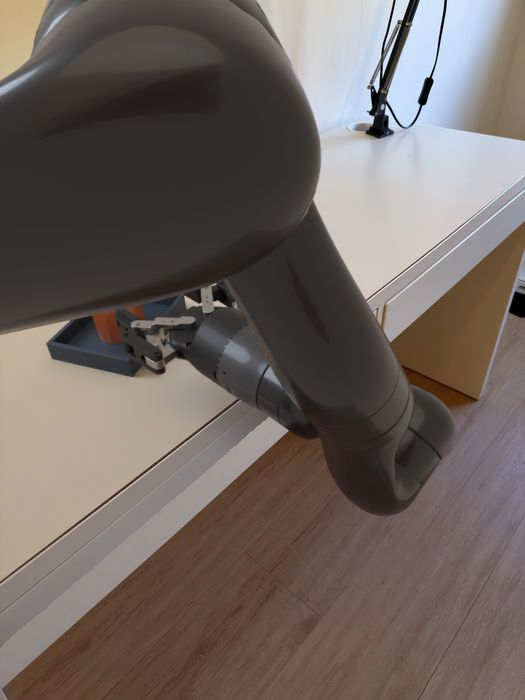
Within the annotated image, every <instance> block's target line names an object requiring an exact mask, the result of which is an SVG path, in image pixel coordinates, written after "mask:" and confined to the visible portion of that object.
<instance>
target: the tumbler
mask: <svg viewBox="0 0 525 700" xmlns="http://www.w3.org/2000/svg"><path fill="white" fill-rule="evenodd" d="M125 309H126V310H128V311H129V312H131V313H132V314H134V315H135V316H137V317H138V318H139V319H140V320H145V321H146V318H145V314H144V309H143V305H137V306H133V307H128V308H125ZM115 314H116V311H110V312H106V313H101V314H96V315H92V317H93V321H94V324H95V327H96V330H97V333H98V336H99V338H100V339H101V340H102V341H104V342H106V343H109V344H122V341H121V339H120V333H121V332H122V330H120V329H119V328H118V326H117V322H116V319H115Z"/></svg>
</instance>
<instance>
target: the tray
mask: <svg viewBox="0 0 525 700" xmlns="http://www.w3.org/2000/svg"><path fill="white" fill-rule="evenodd" d="M142 305H143V309H144V314H145V318H146V321H154V319H155V318H157V317H165V318H172V317H174V316H176V315H178V314H181V313H184V312H185V311H186V310H187V304H186V296H184V295H183V294H181V295H177V296H174V297H170V298H166V299H162V300H159V301H155V302H151V303H146V304H142ZM163 330H164V335H165V337H166V336H167V335H168V334H169V329H166V328H163ZM145 334H146V335H152V336H153V333H152V332H151V331H145ZM45 344H46V348H47V349H48V353H49V354H50V357H51V359H53V360H56V361H61V362H65V363H70V364H74V365H78V366H83V367H86V368H87V367H88V368H91V369H96V370H99V371H100V370H101V371H105V372H109V373H114V374H117V375H122V376H127V377H134V376H135V375H136V373H137V372H138V371H139V370H140V369H141V367H143V366H142V365H140V364H139V363H137V362H136V361H134V360H133V359H131V358H129V357H128V356H126V355H125V353H124V348H123V344H109V343H106V342H104V341H102V340H101V339H100V338H99V336H98V333H97V330H96V327H95V324H94V321H93V317H92V316H87V317H83V318H78V319H73V320H69V321H67V323H66V324H64V325H63V326H62V327H61V329H59V330H58V331H57V332H56V333H55V334H54V335H53V336H52V337H51V338H50V339H48V341H47V342H46V343H45Z"/></svg>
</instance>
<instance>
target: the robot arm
mask: <svg viewBox="0 0 525 700" xmlns="http://www.w3.org/2000/svg"><path fill="white" fill-rule="evenodd" d="M34 36H35V37H34V39H33V45H32V46H33V47H32V50H31V52H30V56H29V58H28V59H27V60H26V61H25V62H24V63H23V64H22V65H21V66H20V67H18V68H17V69H15V70H13V72H11V73H10V74H8V75H6V76H5V77H3V78H2V79H0V336H3V335H9V334H13V333H18V332H22V331H26V330H30V329H31V330H32V329H36V328H41V327H44V326H49V325H54V324H58V323H59V324H60V323H63V322H69V321H70V320H73V319H78V318H83V317H87V316H92V315H96V314H101V313H106V312H110V311H116V314H115V319H116V322H117V326H118V328H119V329H120V330H122V332H121V333H120V339H121V341H122V344H123V348H124V353H125V355H126V356H128V357H129V358H131V359H133V360H134V361H136V362H137V363H139V364H140V365H142V366H141V367H143V368H145V369H146V370H148V371H150V372H151V373H153V374H154V375H156V376H161V375H164V374H165V373H166V372H167V367H166V366H167V364H169V363H170V362H172V361H174V360H175V359H178V360H183V361H187V362H189V364H191V366H192V367H193V368H194V369H195V370H196V371H197V372H199V373H200V374H201V375H202V376H203V377H205V378H207V379H209V381H212V382H213V383H214V384H216V385H217V386H218V387H220V388H222V389H223V390H224V391H225V392H227V393H229V394H230V395H232V396H233V397H235V398H236V399H237V400H239V401H240V402H242V403H244V404H245V405H246V406H249V407H251V408H254V409H256V410H258V411H260V412H261V413H263V414H265V415H266V416H267V417H269V418H270V419H272V420H273V421H275V422H276V423H278V424H279V425H280V426H282V427H283V428H285V429H286V430H287V431H289V432H290V433H292V434H293V435H295V436H297V437H299V438H301V439H303V440H308V441H310V440H311V441H312V440H316V439H320V442H321V447H322V452H323V456H324V459H325V463H326V466H327V468H328V471H329V473H330V476H331V478H332V479H333V481H334V483H335V484H336V486H337V488H338V489H339V490H340V492H341V493H342V495H344V496H345V497H346V498H347V499H348V500H349V501H350V502H351V503H352V504H353V505H354V506H355V507H357V508H359V509H360V510H361V511H364V512H366V513H368V514H370V515H374V516H378V517H391V516H396V515H398V514H401V513H403V512H404V511H406V510H407V509H408V508H409V507H410V506H411V505H412V504H413V503H414V501H415V500H416V499H417V497H418V495H419V494H420V493H421V491H422V490H423V488H424V486H425V485H426V483H427V482H428V480H429V479H430V478H431V476H432V475H433V473H434V472H435V470H436V469H437V467H438V465H439V464H440V462H441V461H442V460H443V458H444V457H445V456H446V454H447V452H448V451H449V449H450V447H451V446H452V444H453V442H454V441H455V438H456V437H457V424H456V421H455V417H454V415H453V413H452V412H451V411H450V408H449V407H448V406H447V405H446V404H445V402H444V401H442V400H441V399H440V398H439V397H438V396H436V395H435V394H434V393H432V392H430V391H428V390H426V389H425V388H423V387H420V386H418V385H417V386H416V385H414V384H411V382H410V380H409V378H408V376H407V374H406V372H405V370H404V368H403V365H402V364H401V361H400V360H399V357H398V355H397V353H396V351H395V349H394V348H393V346H392V343H391V341H390V340H389V338H388V336H387V334H386V332H385V331H384V328H383V327H382V325H381V324H380V322H379V320H378V319H377V317H376V315H375V313H374V312H373V309H372V307H371V306H370V304H369V303H368V301H367V299H366V298H365V296H364V294H363V292H362V291H361V289H360V287H359V285H358V284H357V282H356V280H355V278H354V277H353V275H352V272H351V271H350V269H349V268H348V266H347V264H346V263H345V260H344V259H343V257H342V255H341V253H340V252H339V249H338V248H337V246H336V244H335V242H334V239H333V238H332V236H331V234H330V233H329V230H328V228H327V226H326V224H325V222H324V219H323V218H322V216H321V214H320V211H319V209H318V207H317V204H316V202H315V199H314V198H315V196H316V193H317V189H318V186H319V182H320V181H319V180H320V176H321V172H322V171H321V170H322V144H321V137H320V133H319V129H318V124H317V120H316V118H315V114H314V110H313V108H312V106H311V103H310V100H309V99H308V96H307V93H306V91H305V88H304V87H303V85H302V81H301V80H300V77H299V75H298V74H297V72H296V70H295V69H294V67H293V64H292V62H291V60H290V58H289V56H288V54H287V53H286V52H287V51H286V50H285V49H284V47H283V45H282V43H281V41H280V38H279V37H278V34H277V32H276V31H275V30H274V28H273V26H272V24H271V22H270V21H269V19H268V17H267V15H266V13H265V11H264V10H263V8H262V6H261V5H260V3H259V2H258V0H47V2H46V5H45V7H44V9H43V12H42V16H41V18H40V20H39V24H38V27H37V29H36V31H35V35H34ZM181 294H182V295H184V297H185V298H188V299H190V300H191V301H193V302H195V303H197V304H198V305H192V306H190V307H189V308H186V311H185V312H184V313H181V314H178V315H176V316H174V317H172V318H165V317H157V318H155V319H154V321H145V320H140V319H139V318H138V317H137V316H135V315H134V314H132V313H131V312H129V311H128V310H126V309H125V308H128V307H133V306H137V305H142V304H146V303H151V302H155V301H159V300H162V299H166V298H170V297H174V296H177V295H181ZM215 302H219V303H220V304H222V305H224V306H220V305H219V306H218V305H217V306H216V305H214V303H215ZM200 304H201V305H200ZM163 328H166V329H169V332H168V338H167V337H166V336H165V335H164V330H163ZM145 331H151V332H152V333H153V336H152V335H146V334H145Z"/></svg>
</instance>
